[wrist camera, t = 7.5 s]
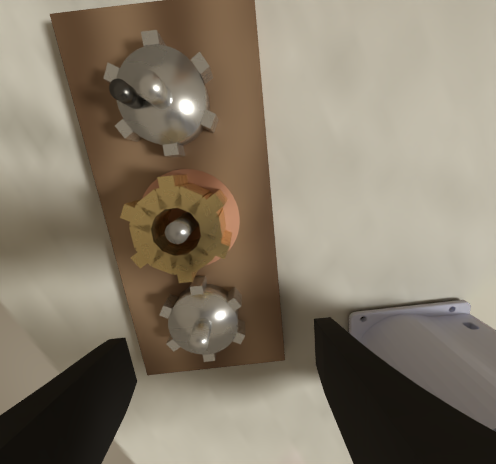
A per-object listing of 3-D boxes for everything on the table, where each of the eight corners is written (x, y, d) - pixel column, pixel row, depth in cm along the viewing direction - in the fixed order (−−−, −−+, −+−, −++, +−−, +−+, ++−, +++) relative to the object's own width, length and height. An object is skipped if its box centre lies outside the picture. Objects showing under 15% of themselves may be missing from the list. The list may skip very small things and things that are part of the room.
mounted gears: (208, 40, 13) (197, -3, 10) (247, 342, 18) (248, 378, 15) (110, 52, 13) (67, 13, 10) (176, 349, 18) (162, 388, 15)
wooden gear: (235, 258, 16) (234, 277, 13) (156, 266, 16) (137, 287, 13) (223, 170, 15) (219, 169, 12) (137, 180, 15) (110, 182, 12)
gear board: (252, 5, 14) (253, -12, 12) (282, 348, 20) (285, 361, 18) (66, 27, 14) (48, 12, 12) (153, 363, 20) (146, 376, 18)
